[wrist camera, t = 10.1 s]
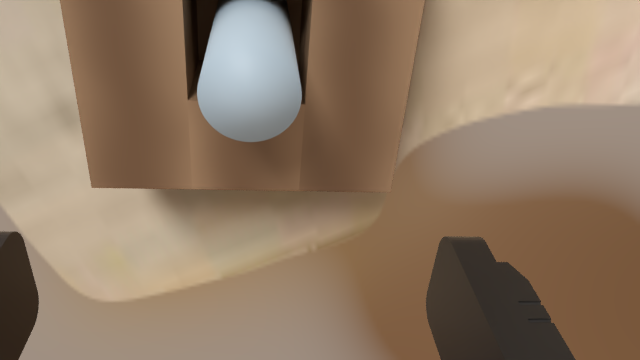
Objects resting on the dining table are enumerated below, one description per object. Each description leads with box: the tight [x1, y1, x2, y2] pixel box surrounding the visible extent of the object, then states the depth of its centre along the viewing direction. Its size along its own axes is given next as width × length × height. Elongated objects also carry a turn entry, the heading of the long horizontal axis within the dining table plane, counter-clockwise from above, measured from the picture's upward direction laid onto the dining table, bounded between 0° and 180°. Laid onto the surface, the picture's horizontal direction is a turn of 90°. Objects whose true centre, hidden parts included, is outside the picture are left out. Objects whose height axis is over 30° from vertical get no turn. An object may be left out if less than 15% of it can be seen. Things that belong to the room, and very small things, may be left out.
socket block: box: [60, 0, 425, 192], centre depth 24 cm, size 14×14×6 cm
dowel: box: [197, 0, 302, 142], centre depth 22 cm, size 3×3×10 cm
